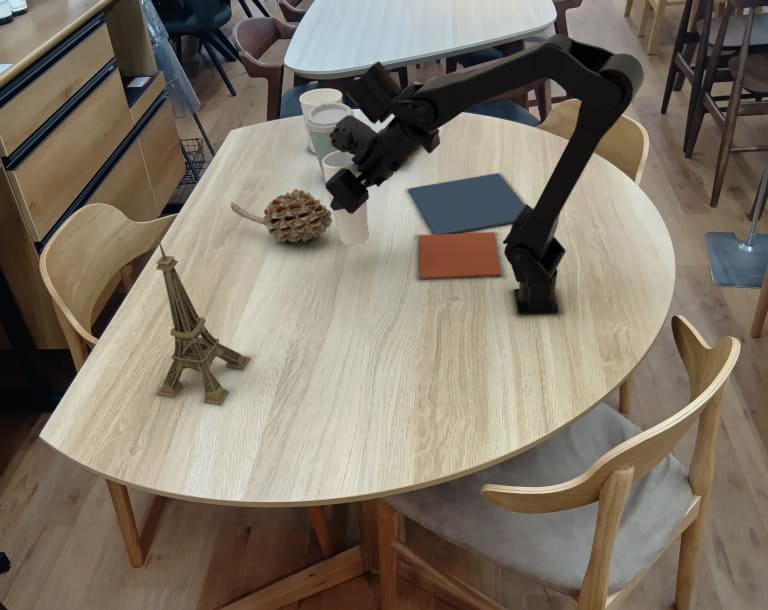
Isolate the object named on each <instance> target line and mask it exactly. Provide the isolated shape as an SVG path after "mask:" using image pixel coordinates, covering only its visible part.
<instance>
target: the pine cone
mask: <svg viewBox="0 0 768 610" xmlns="http://www.w3.org/2000/svg"><path fill="white" fill-rule="evenodd" d="M229 203H230V206H229V207H230V208H231V209H232V211H233V212H234V213H236V214H237V215H238V216H239V217H243V218H245V219H247V220H250V221H252V222H255V223H258V224H260V225H263V226H265V227H266V230H268V233H269V235H271V236H273V238H274V240H276V241H279V242H282V241H283V242H285V241H286V240H287V241H288V242H292V243H293V242H294V243H298V242H299V241H300V240H301V241H302V242H306V241H308V240H312V238H313V237H314V238H320V237H321V235H324V234H325V233H326V232H327V228H329V227H331V224H332V222H333V219H332V217H331V216H332V211H331V210H329V209H327V206H326V205H325V204H321V199H315V196H313V195H312V194H311V192H310V191H309V192H306V191H304V190H303V189H301V190H299V189H297V188H295V189H293V190H292V191H291V193H290V192H286V193H285V194H280V195H278V196H276V198H274V199H273V200H272V201H269V203H268V205H267V206H265V208H264V210H263V212H264V216H260V215H259V216H258V215H256V214H254V213H251V212H249V211H247V210H245V209H243V208H242V207H241V206H240V205H239V204H236V203H234V202H232V201H230V202H229Z"/></svg>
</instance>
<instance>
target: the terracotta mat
mask: <svg viewBox="0 0 768 610" xmlns="http://www.w3.org/2000/svg"><path fill="white" fill-rule="evenodd" d="M489 277H490V278H491V277H501V268H500V263H499V257H498V251H497V243H496V238H495V233H494V231H491V232H462V233H456V234H438V235H433V234H420V235H419V280H428V279H429V280H431V279H459V278H460V279H461V278H462V279H463V278H489Z"/></svg>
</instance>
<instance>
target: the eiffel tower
mask: <svg viewBox="0 0 768 610" xmlns="http://www.w3.org/2000/svg"><path fill="white" fill-rule="evenodd" d="M155 235H156V238H157V241H158V245H159V249H160V253H161V256H160V258H159V259H158V260H157V261H155V264H157V266H156V268H155V270H158V271H162V274H163V279H164V284H165V289H166V293H167V299H168V303H169V309H170V314H171V320H172V324H173V328H171V329H170V336H172V337H174V351H173V354H171V356H170V358H171V359H172V360H173V361H172V363H171V365H170V367H169V369H168V371H167V374H166V376H165V377H164V380H163V382H162V385H161V387H160V388H159V389H158V391H157V392H156V395H157V396H161V397H167V398H174V397H176V395H177V394H178V393H179V391H180V389H181V388H182V387H183V384H182V381H180V379H181V377H182V374H183V372H184V371H185V369H192V370H193V371H196V372H198V373H201V376H202V383H203V387H204V394H205V396H204V399H203V403H205V404H209V405H210V404H211V405H217V406H221V405H222V404H223V403H224V401H225V399H226V398H227V397H228V395H229V393H230V391H229V390H226V388H224V387H223V386H222V384H221V383H220V382H219V380H218V379H217V377H216V376H215V375H214V374H213V372H212V371H211V367H212V364H213V361H214V360H215V358H219V359H221V360H222V361H224V362H226V364H225V366H226V368H227V369H233V370H240V371H243V370H244V369H246V366H247V365H248V363H249V362H250V360H251V357H250V356H248V355H247V356H245V355H242V354H241V353H239V352H238V351H235V350H234V349H231V348H229V346H226V345H224V344H221V343H219V342H220V338H215V337H214V336H213V335H212V334H211V333H210V332H209V330H208V329H207V327H206V326H205V323H206V322H207V321H206V319H205V317H204V316H199V315H198V313H197V311H196V308H195V307H194V304H193V302H192V300H191V299H190V296H189V295H188V293H187V290H186V289H185V287H184V284H183V282H182V280H181V278H180V276H179V273H178V272H177V270H176V268H175V267H176V266H177V264H178V263H179V261H178V260H176V259H175V258H176V257H175V256H171V255H166V253H165V250H164V247H163V246H162V243H161V241H160V239H159V236H158V232H157V231H155Z"/></svg>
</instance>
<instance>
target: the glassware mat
mask: <svg viewBox="0 0 768 610" xmlns="http://www.w3.org/2000/svg"><path fill="white" fill-rule="evenodd" d="M408 192H409V194H410V196H411V197H412V200H413V201H414V203H415V204H416V206H417V208H418V210H419V212H420V213H421V216H422V217H423V218H424V220H425V222H426V224H427V226H428V228H429V230H430V231H431V233H432V235H438V234H463V233H468V232H471V231H472V232H473V231H478V230H483V229H488V228H495V227H501V226H504V225H510V224H513V222H514V220H515V219H516V218H517V216H518V215H519V213H520V212H521V210H522V209H523V208H524V206H525V205H526V204H524V203H523V201H522V200H521V199H520V198H519V196H518V195H517V194H516V193H515V192H514V190H513V189H512V188H511V187H510V185H509V184H508V183H507V182H506V181H505V179H504V178H503V177H502V176H501V175H500V173H499V172H497V173H491V174H486V175H480V176H479V175H478V176H475V177H467V178H463V179H456V180H451V181H444V182H441V183H440V182H439V183H433V184H428V185H421V186H416V187H410V188H409V187H408Z"/></svg>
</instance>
